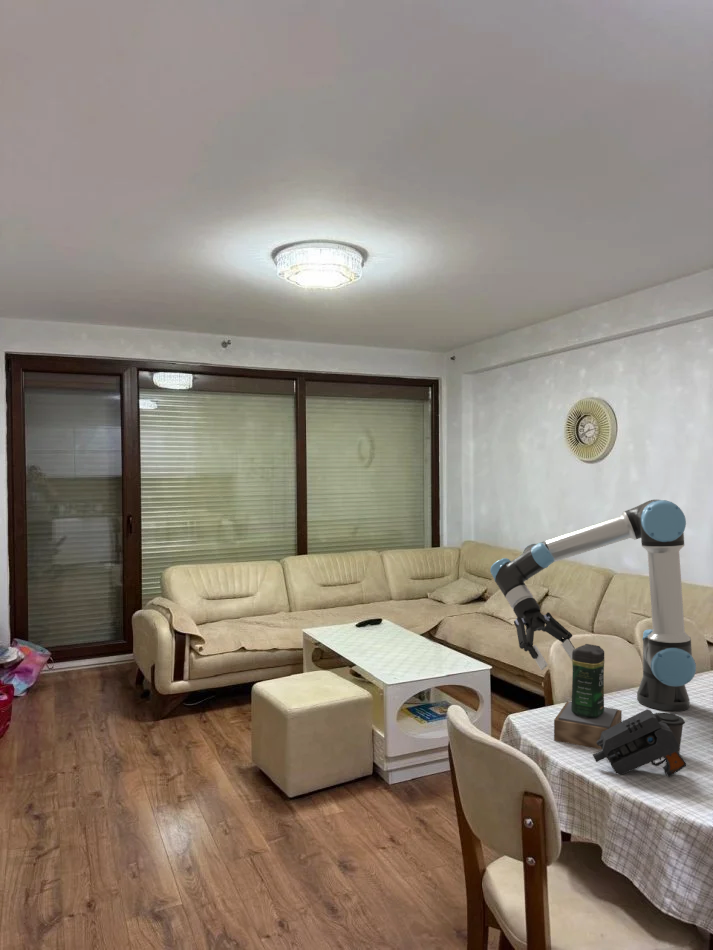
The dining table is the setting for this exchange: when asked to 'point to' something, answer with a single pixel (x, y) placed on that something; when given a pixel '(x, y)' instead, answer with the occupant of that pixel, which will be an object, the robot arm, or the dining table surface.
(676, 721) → the coffee cup
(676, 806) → the dining table surface
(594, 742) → the wooden block
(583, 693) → the coffee jar
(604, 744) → the grey toy blaster gun
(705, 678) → the dining table surface
